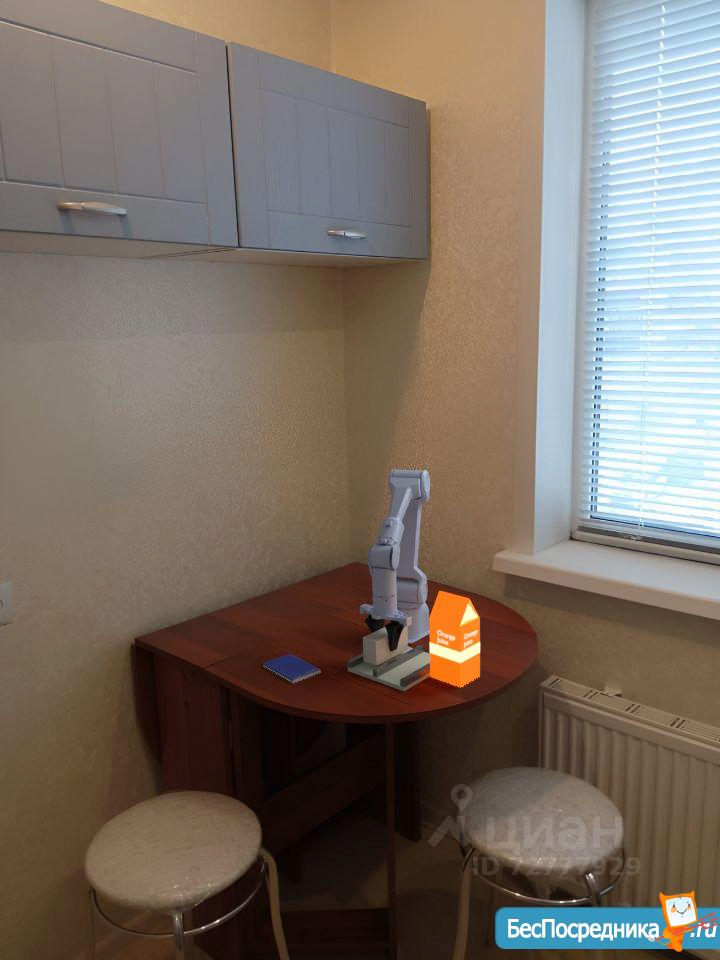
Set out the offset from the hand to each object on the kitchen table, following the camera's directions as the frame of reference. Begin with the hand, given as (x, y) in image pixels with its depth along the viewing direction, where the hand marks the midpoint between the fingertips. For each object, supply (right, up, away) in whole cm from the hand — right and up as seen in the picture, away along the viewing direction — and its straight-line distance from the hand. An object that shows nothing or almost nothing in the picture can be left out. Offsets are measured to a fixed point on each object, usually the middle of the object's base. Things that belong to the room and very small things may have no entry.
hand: (386, 647), depth 183 cm
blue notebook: (-23, -6, -1) cm, 23 cm away
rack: (+3, -4, -2) cm, 6 cm away
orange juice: (+16, -5, -8) cm, 18 cm away
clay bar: (0, -2, 0) cm, 2 cm away
